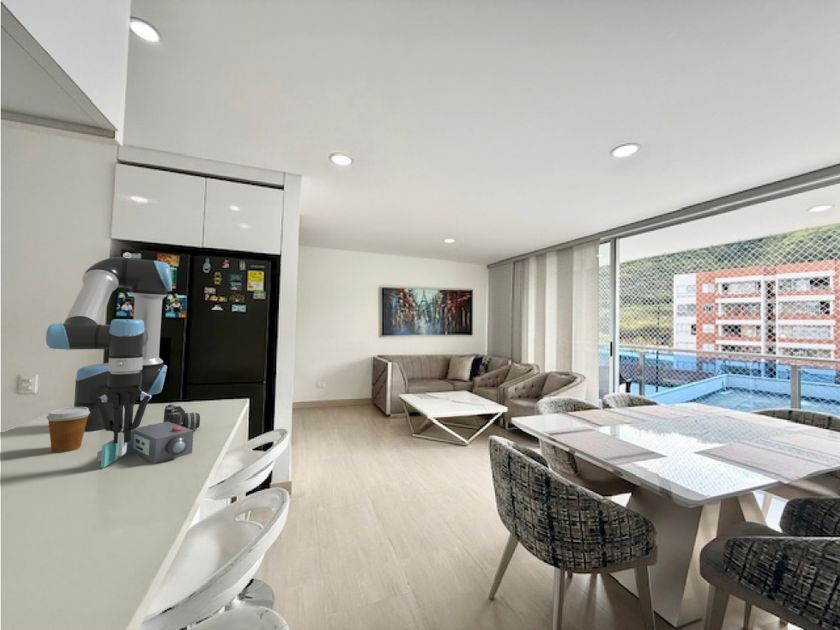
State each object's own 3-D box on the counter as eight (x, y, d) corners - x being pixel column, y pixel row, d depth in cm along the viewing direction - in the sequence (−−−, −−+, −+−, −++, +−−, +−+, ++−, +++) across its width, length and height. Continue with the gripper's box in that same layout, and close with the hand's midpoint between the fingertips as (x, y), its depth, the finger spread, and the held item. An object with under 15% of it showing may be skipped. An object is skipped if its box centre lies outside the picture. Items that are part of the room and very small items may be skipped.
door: (124, 450, 104) (125, 431, 105) (131, 450, 105) (132, 431, 105) (96, 467, 92) (97, 445, 92) (104, 467, 93) (106, 445, 93)
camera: (203, 435, 122) (205, 408, 123) (166, 442, 115) (168, 412, 115) (194, 425, 132) (195, 400, 133) (159, 431, 125) (161, 404, 125)
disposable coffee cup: (54, 456, 99) (58, 415, 99) (36, 451, 102) (39, 411, 102) (94, 446, 108) (97, 408, 108) (76, 441, 111) (79, 405, 111)
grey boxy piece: (129, 451, 105) (131, 426, 105) (166, 442, 114) (168, 419, 114) (158, 465, 96) (159, 438, 96) (196, 454, 105) (197, 429, 105)
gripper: (90, 374, 92) (86, 461, 91) (147, 373, 97) (143, 456, 96) (104, 371, 99) (100, 451, 98) (156, 369, 103) (153, 447, 103)
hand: (121, 453), depth 97 cm, fingers closed
